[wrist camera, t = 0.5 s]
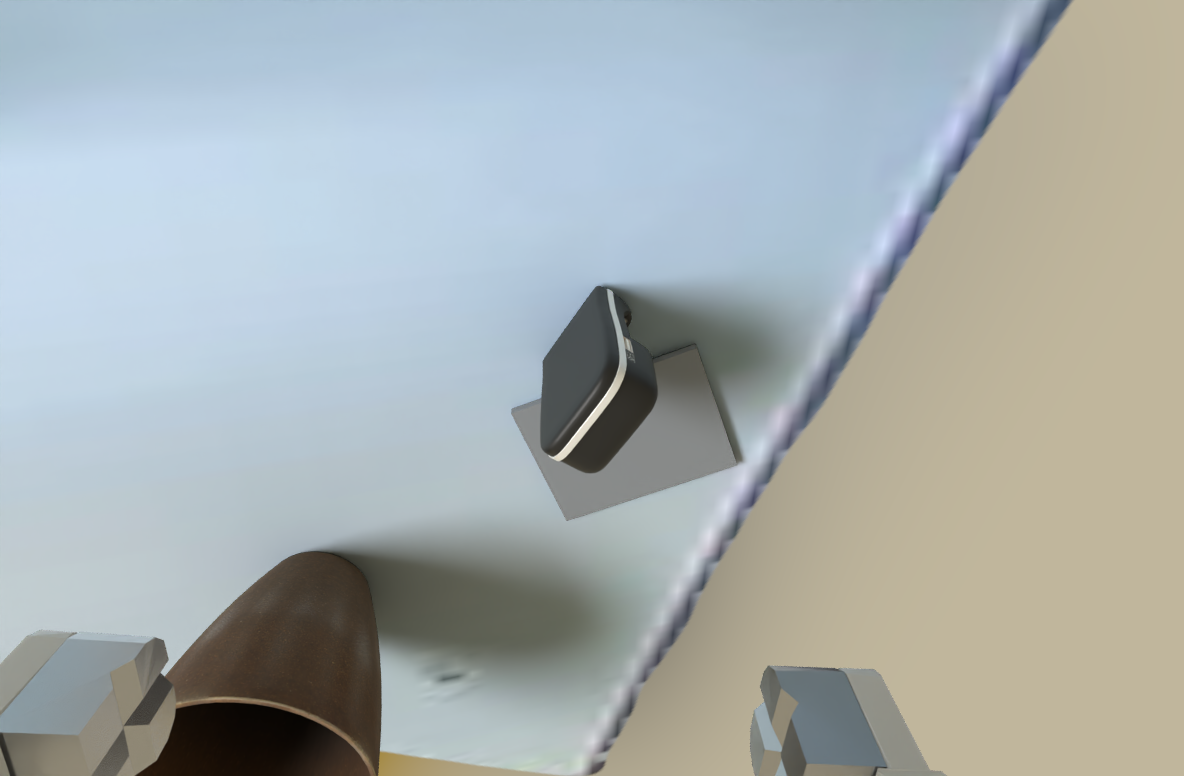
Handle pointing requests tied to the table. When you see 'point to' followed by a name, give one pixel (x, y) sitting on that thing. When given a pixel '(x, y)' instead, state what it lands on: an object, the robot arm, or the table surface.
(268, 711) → the plant pot
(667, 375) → the mat
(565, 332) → the battery charger
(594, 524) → the table surface
